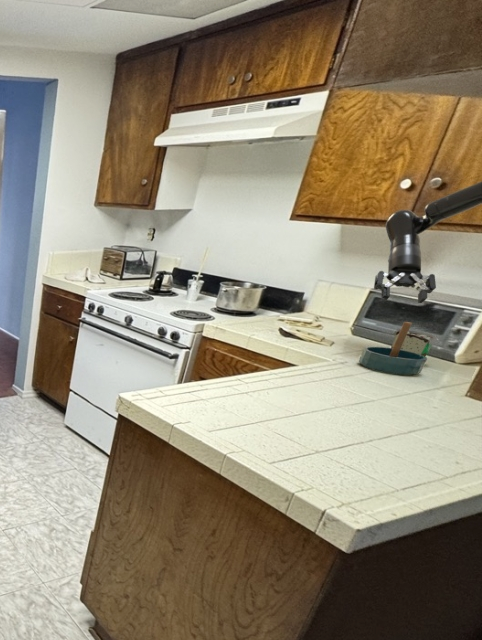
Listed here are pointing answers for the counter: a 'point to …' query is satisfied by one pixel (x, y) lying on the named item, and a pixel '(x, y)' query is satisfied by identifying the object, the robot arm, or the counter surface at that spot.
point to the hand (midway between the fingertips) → (403, 300)
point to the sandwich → (416, 342)
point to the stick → (400, 339)
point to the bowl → (392, 361)
